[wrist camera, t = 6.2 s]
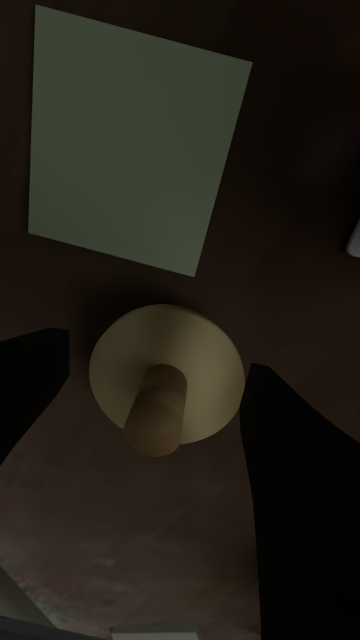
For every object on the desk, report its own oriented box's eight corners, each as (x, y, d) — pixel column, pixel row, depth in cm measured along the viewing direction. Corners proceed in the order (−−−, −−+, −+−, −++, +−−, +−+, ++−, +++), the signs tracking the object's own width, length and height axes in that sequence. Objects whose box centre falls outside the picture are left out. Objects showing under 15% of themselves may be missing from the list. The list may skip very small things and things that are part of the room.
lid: (240, 298, 17) (255, 336, 12) (244, 431, 20) (256, 507, 15) (81, 309, 18) (28, 348, 13) (111, 432, 22) (79, 503, 16)
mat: (251, 68, 15) (252, 62, 15) (194, 275, 20) (194, 277, 19) (41, 12, 15) (35, 4, 15) (33, 232, 20) (28, 232, 19)
